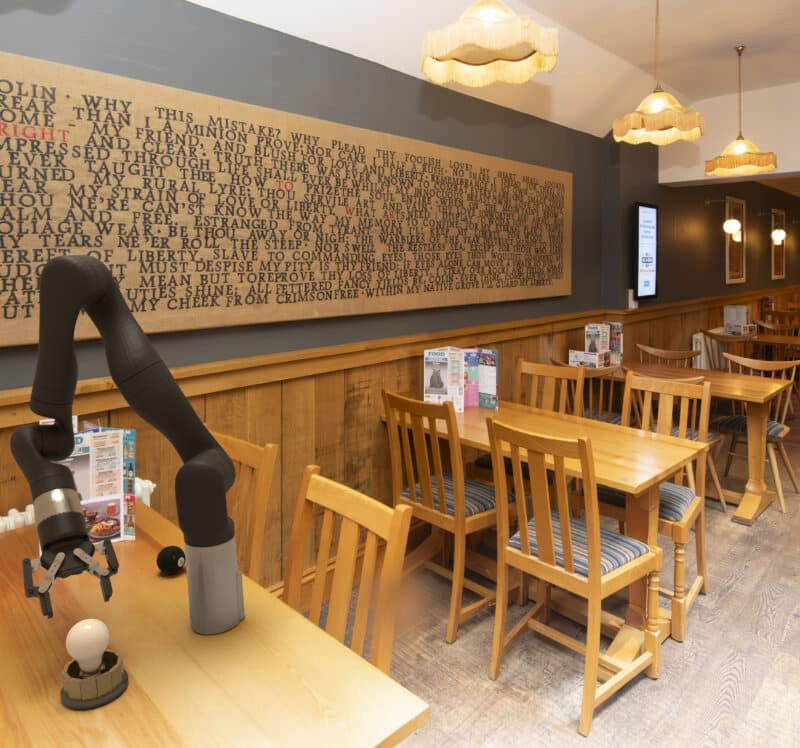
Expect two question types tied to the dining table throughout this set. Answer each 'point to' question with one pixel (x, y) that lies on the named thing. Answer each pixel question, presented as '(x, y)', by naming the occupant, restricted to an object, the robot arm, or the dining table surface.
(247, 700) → the dining table surface
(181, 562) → the billiard ball
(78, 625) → the lightbulb
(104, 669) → the bulb holder
